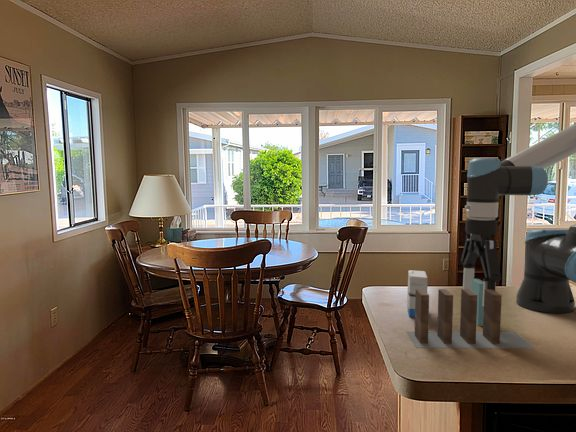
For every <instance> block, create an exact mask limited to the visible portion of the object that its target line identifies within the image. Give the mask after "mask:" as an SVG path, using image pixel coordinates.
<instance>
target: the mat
mask: <svg viewBox="0 0 576 432" xmlns="http://www.w3.org/2000/svg"><path fill="white" fill-rule="evenodd" d="M405 332H406V335H407V336H408V338H409V339H410V341H411V342H412V344H413V346H414V348H415V349H419V348H420V349H426V348H427V349H536V347H535V346H534V345H533V344H531V343H530V342H529V341H527V340H526V339H525V338H524V337H522V336H521V335H520V334H519V333H517V332H516V331H500V344H491V343H490V342H489V341H488V340H487V339H486V338H485V337H484V336H483V331H476V344H468V343H467V342H466V341H465V340H464V339H463V338H462V337H461V336H460V331H452V344H444V343H443V342H442V341H441V339H440V338H439V337H438V336H437V331H428V344H420V342H419V341H418V339H417V338H416V336H415V331H405Z"/></svg>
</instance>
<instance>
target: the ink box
mask: <svg viewBox="0 0 576 432" xmlns="http://www.w3.org/2000/svg"><path fill="white" fill-rule="evenodd" d="M407 273H408V274H407V276H408V277H407V297H406V299H407V300H406V301H407V302H406V310H407V313H408V317H409V318H415V297H416V289H424V290H425V291H426V292H427V293H428V275H427V273H426V271H424V270H414V269H413V270H411V269H409V270H408V272H407Z"/></svg>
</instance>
